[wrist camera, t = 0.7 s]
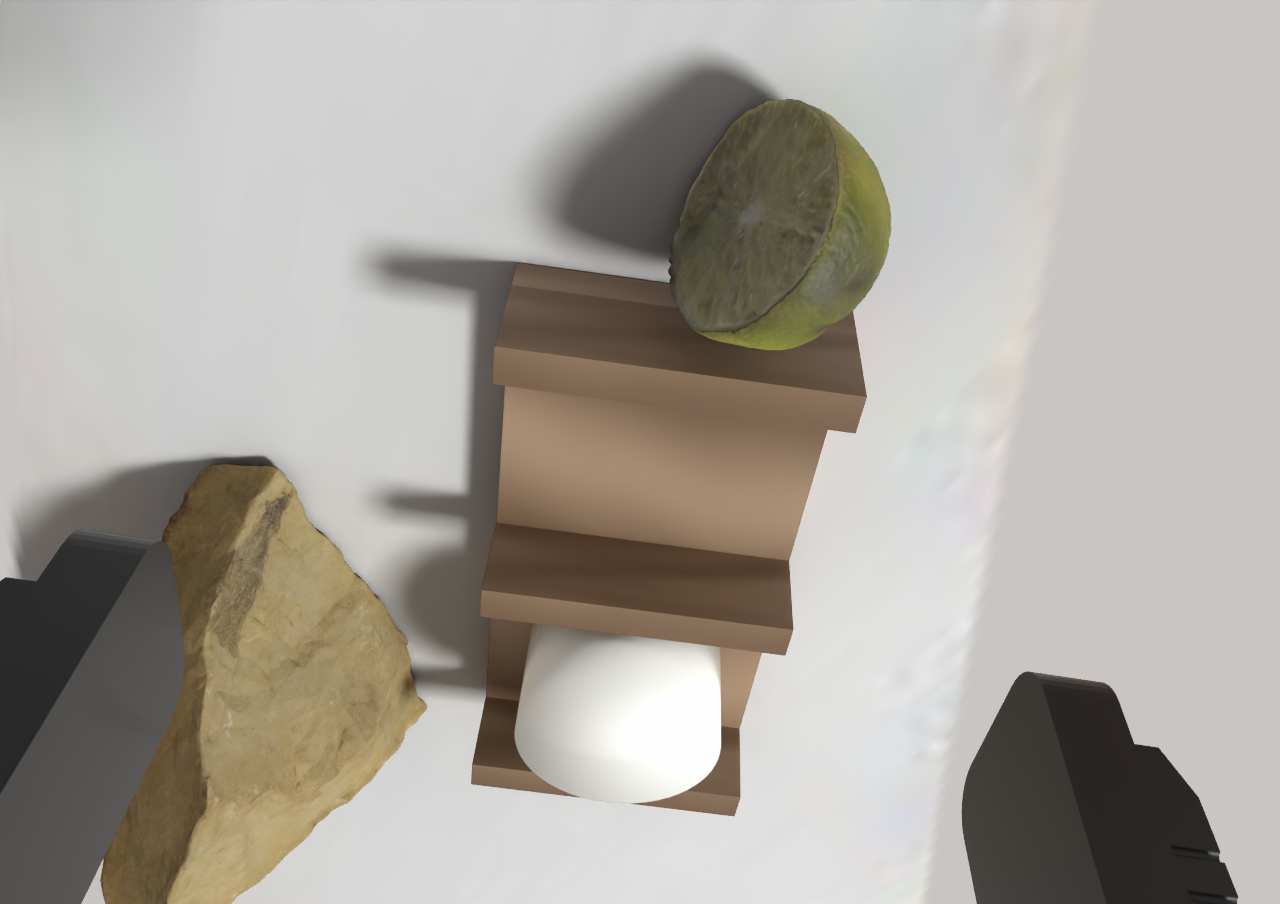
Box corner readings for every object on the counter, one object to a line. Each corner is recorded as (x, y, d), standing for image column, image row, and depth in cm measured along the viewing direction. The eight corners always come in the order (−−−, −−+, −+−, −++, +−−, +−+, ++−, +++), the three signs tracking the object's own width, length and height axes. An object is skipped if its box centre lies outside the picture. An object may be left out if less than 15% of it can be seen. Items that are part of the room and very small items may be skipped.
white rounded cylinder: (536, 566, 32) (520, 663, 29) (735, 590, 32) (737, 688, 29) (525, 694, 35) (509, 791, 33) (704, 714, 35) (703, 813, 33)
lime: (670, 270, 27) (661, 397, 23) (675, 66, 24) (666, 174, 20) (861, 276, 27) (884, 405, 23) (891, 72, 23) (925, 182, 20)
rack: (517, 262, 27) (494, 346, 24) (852, 309, 27) (866, 397, 24) (489, 691, 37) (471, 784, 34) (733, 721, 37) (734, 816, 35)
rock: (61, 452, 28) (33, 725, 33) (174, 702, 23) (121, 976, 28) (440, 422, 35) (369, 650, 40) (588, 608, 30) (487, 842, 35)
